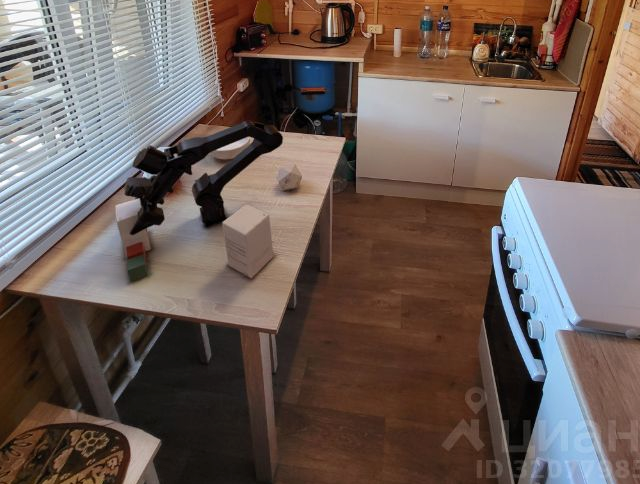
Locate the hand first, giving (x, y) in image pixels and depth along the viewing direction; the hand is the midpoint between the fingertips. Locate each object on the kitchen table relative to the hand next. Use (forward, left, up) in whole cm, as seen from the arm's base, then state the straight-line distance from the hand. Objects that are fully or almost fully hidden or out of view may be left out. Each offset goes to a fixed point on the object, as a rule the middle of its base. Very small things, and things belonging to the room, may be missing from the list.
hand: (130, 224), depth 108 cm
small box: (-1, 0, -8) cm, 8 cm away
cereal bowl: (-36, -36, -8) cm, 52 cm away
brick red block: (0, +6, -8) cm, 10 cm away
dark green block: (0, +12, -8) cm, 14 cm away
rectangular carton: (-27, +23, -8) cm, 36 cm away
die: (-49, -3, -8) cm, 50 cm away
